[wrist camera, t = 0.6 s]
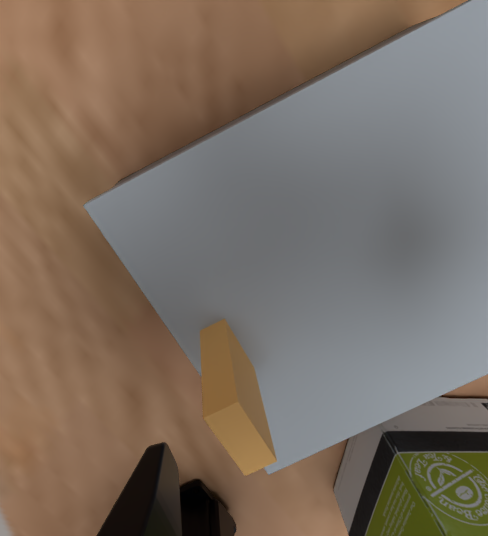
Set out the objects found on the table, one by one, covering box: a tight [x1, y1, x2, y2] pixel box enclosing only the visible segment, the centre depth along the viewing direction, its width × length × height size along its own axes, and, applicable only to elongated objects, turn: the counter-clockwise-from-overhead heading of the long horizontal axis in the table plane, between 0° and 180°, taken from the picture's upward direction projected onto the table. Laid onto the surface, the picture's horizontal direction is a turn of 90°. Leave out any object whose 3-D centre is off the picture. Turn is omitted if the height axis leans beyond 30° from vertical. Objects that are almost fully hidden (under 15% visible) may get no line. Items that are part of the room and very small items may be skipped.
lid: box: [83, 0, 488, 476], centre depth 14 cm, size 16×16×6 cm
